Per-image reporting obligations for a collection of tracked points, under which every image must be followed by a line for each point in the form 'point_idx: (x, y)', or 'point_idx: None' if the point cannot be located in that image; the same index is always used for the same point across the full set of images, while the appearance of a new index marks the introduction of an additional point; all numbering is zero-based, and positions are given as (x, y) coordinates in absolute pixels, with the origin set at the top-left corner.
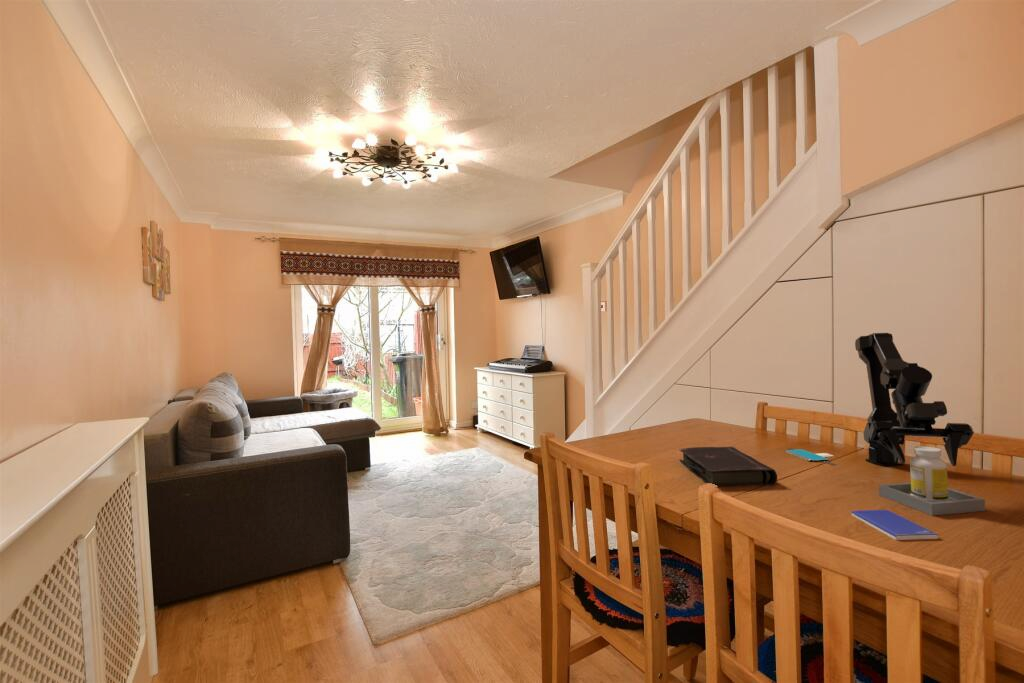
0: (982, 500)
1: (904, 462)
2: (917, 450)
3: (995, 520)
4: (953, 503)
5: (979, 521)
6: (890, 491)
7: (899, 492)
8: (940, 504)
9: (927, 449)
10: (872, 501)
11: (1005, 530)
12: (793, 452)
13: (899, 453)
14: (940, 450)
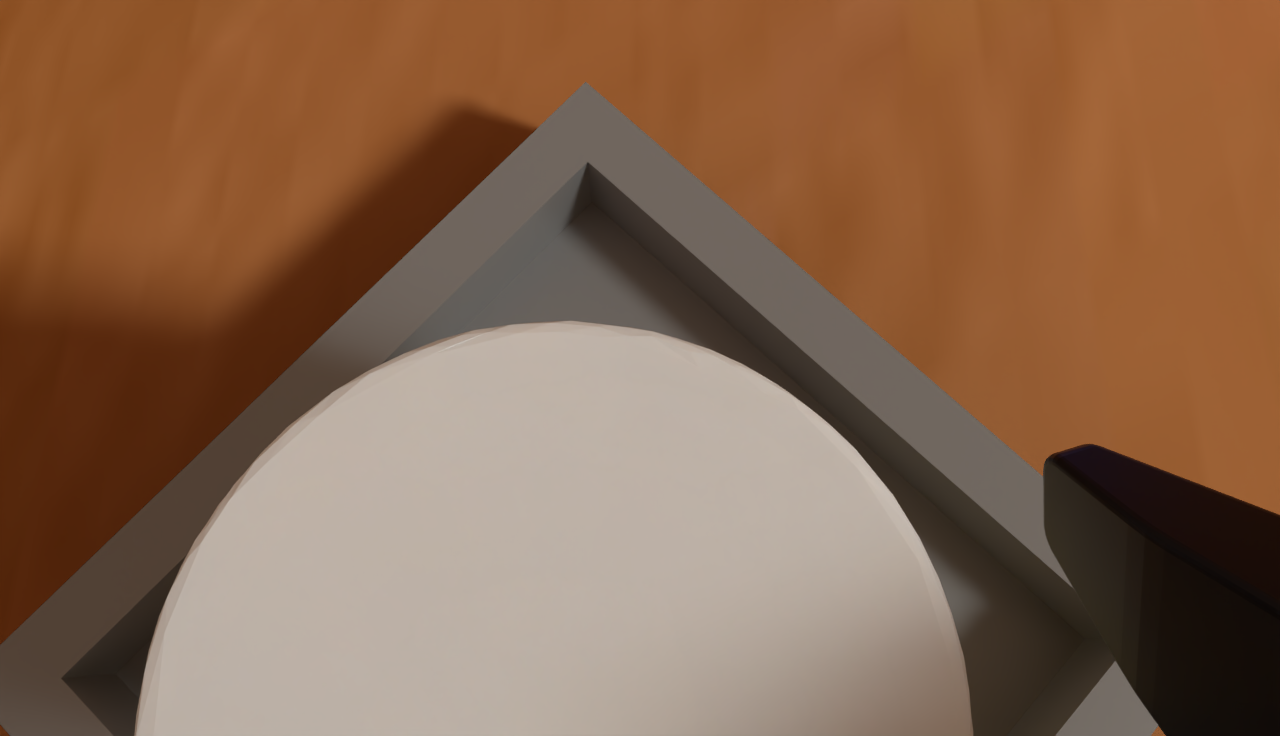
0: (2, 650)
1: (1048, 497)
2: (850, 465)
3: (31, 349)
4: (357, 312)
5: (187, 223)
6: None
7: (940, 392)
8: (497, 177)
9: (558, 563)
10: (1167, 317)
11: (19, 76)
12: None
13: (1274, 514)
14: (159, 626)
